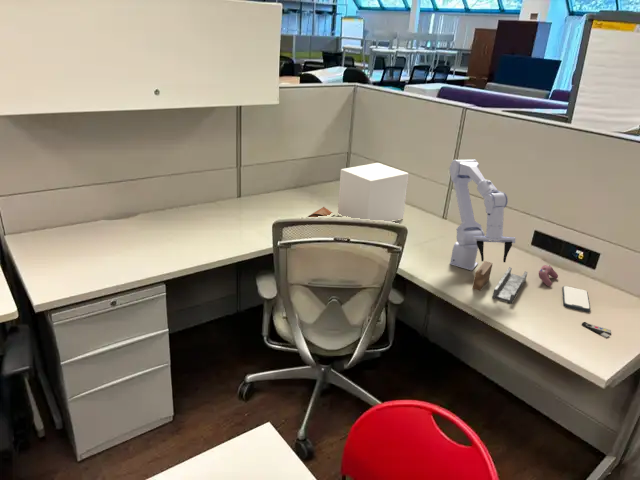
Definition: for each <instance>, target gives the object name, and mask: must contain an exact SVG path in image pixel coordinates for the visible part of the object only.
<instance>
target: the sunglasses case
mask: <svg viewBox="0 0 640 480" xmlns="http://www.w3.org/2000/svg"><path fill="white" fill-rule="evenodd" d="M331 213H333V212H332V211H331V210H329V209H328V208H326V206H323V207H321V208H319V209H318V210H316V211H314V212H313V213H312V214H310V215H308V216H307V217H318V216H327V215H330V214H331Z"/></svg>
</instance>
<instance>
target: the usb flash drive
mask: <svg viewBox="0 0 640 480" xmlns="http://www.w3.org/2000/svg"><path fill="white" fill-rule="evenodd" d="M581 326H582V327H584V328H585V329H587V330H589V331H592V332H594V333H595V334H597V335H599V336H602V337H603V338H606V339H607V338H608V337H610V336H611V334H612V330H611V329H609V328H606V327H605V328H604V327H601V326H597V325H594V324H591V323H588V322H587V321H584V322H582V323H581ZM608 333H609V334H608Z"/></svg>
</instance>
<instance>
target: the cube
mask: <svg viewBox="0 0 640 480" xmlns="http://www.w3.org/2000/svg"><path fill="white" fill-rule="evenodd" d="M339 177H340V178H339V192H338V193H339V194H338V203H337V204H338V206H337V207H338V209H337V214H338V213H339V214H341V215H342V216H346V217H347V216H348V217H351V218H360V219H370V220H384V221H392V220H398V219H402V218H403V219H404V215H405V207H406V198H407V191H408V185H409V184H408V182H409V177H410V173H409V172H406V171H403V170H401V169H397V168H396V167H395V168H394V167H391V166H389V165H386V164H383V163H380V162H375V163H374V162H373V163H368V164H364V165H363V164H362V165H357V166H352V167H345V168H340V175H339Z"/></svg>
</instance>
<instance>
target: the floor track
mask: <svg viewBox="0 0 640 480" xmlns="http://www.w3.org/2000/svg"><path fill="white" fill-rule="evenodd" d="M512 269H513V268H512V267H510V266H509V267H508V268H507V269H506V271H505V273H504V274H503V275H502V277H501V278H500V279H499V281H498V283H497V284H496V285H495V287H494V289H493V291H492V298H493V299H496V300H499V301H503V302H505V303H509V304H513V303H514V301H515V299H516V298H517V296H518V294H519V292H520V290H522V289H521V288H522V287H523V285H524V284H525V282H526V281H527V276H528V273H529V272H528V271H524V272H523V274H522V275H517V274H514V273H512Z"/></svg>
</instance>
